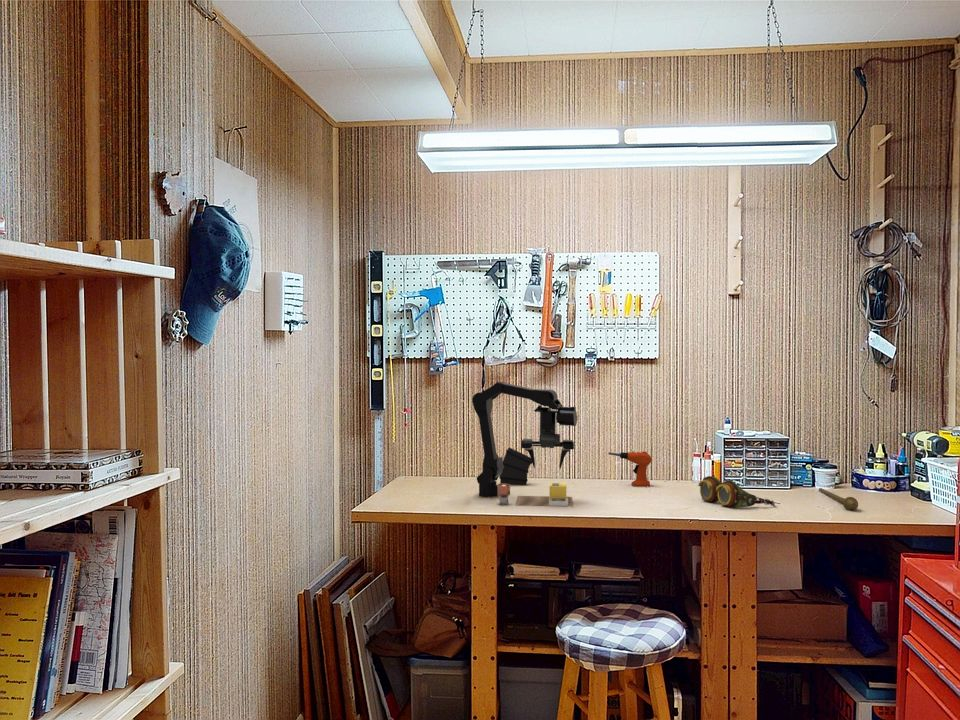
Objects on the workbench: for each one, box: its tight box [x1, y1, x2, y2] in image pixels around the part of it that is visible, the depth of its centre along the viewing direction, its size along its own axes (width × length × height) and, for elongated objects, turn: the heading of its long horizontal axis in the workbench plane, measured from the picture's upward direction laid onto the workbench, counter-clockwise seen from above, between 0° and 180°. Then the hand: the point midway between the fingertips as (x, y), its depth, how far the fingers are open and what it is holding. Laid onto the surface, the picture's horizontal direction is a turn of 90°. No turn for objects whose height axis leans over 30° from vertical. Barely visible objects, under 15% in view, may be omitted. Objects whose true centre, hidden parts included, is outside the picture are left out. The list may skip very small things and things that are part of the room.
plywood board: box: [514, 495, 574, 508], centre depth 251 cm, size 20×16×1 cm
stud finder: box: [549, 482, 567, 498], centre depth 254 cm, size 6×7×5 cm
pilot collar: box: [548, 497, 568, 507], centre depth 246 cm, size 7×7×2 cm
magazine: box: [499, 447, 533, 486], centre depth 288 cm, size 4×13×15 cm, turn 89°
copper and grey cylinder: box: [497, 483, 511, 506], centre depth 246 cm, size 4×4×8 cm
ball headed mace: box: [818, 487, 859, 511], centre depth 254 cm, size 5×35×5 cm
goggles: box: [697, 475, 775, 509], centre depth 252 cm, size 24×24×10 cm
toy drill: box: [607, 450, 652, 488], centre depth 285 cm, size 5×18×14 cm, turn 82°
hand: (547, 467), depth 253 cm, fingers open, 9 cm apart
